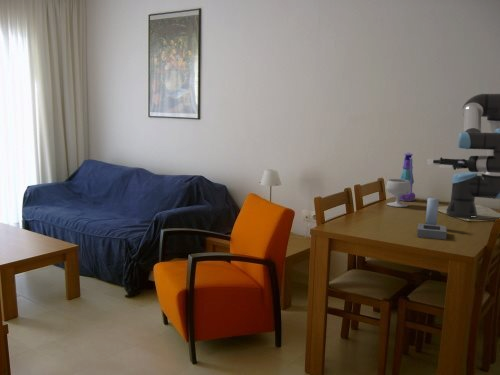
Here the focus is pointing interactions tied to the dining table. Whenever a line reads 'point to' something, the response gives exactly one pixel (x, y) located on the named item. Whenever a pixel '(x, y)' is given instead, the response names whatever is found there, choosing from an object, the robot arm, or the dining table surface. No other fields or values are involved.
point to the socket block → (431, 231)
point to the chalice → (398, 190)
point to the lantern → (408, 177)
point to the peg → (432, 211)
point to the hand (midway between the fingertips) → (433, 163)
